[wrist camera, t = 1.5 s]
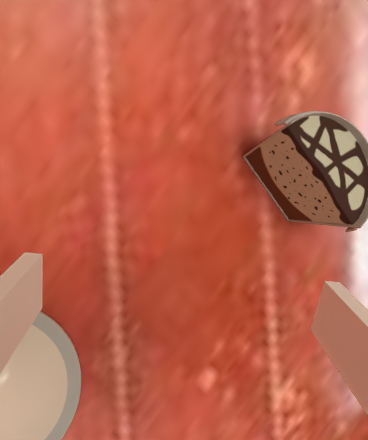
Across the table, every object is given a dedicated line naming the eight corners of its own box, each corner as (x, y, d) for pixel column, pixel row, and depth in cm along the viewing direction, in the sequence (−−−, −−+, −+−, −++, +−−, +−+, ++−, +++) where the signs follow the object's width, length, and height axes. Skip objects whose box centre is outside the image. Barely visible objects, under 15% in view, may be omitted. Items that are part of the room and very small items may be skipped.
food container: (328, 199, 41) (404, 190, 31) (294, 231, 39) (363, 232, 29) (272, 115, 38) (334, 78, 29) (234, 145, 37) (287, 116, 27)
